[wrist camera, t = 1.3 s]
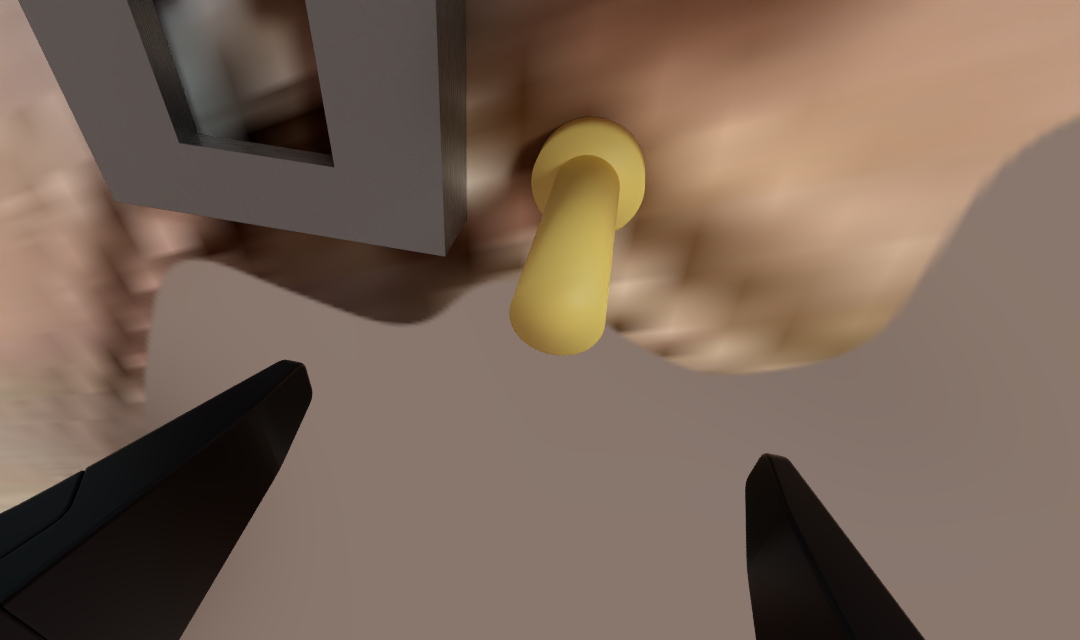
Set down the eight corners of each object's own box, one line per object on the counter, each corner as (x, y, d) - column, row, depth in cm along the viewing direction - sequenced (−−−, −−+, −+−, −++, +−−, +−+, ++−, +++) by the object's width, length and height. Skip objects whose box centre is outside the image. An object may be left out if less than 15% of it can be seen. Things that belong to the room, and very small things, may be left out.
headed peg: (656, 125, 18) (661, 262, 11) (633, 228, 21) (624, 392, 14) (542, 109, 19) (474, 231, 11) (533, 212, 21) (474, 364, 14)
